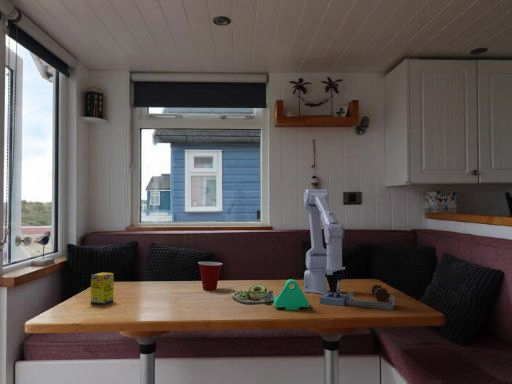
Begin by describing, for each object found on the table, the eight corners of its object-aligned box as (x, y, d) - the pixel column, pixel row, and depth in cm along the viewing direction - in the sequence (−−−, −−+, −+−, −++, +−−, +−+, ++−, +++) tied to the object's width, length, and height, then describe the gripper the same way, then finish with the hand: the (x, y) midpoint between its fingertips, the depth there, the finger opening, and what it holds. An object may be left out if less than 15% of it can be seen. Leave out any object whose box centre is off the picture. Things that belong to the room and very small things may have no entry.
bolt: (377, 297, 163) (384, 305, 148) (366, 291, 164) (372, 298, 149) (384, 285, 163) (391, 292, 148) (373, 279, 164) (379, 285, 149)
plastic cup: (227, 290, 169) (227, 262, 170) (204, 293, 163) (205, 264, 164) (215, 285, 178) (215, 259, 179) (193, 288, 172) (193, 261, 173)
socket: (319, 303, 146) (319, 297, 146) (326, 298, 154) (326, 292, 154) (343, 306, 142) (343, 300, 142) (349, 300, 150) (349, 294, 150)
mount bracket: (345, 304, 144) (345, 295, 144) (350, 300, 151) (350, 291, 151) (392, 310, 136) (392, 300, 137) (394, 304, 144) (394, 295, 144)
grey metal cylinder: (329, 296, 147) (329, 280, 147) (331, 294, 150) (331, 279, 150) (338, 297, 146) (338, 281, 146) (340, 295, 149) (340, 280, 149)
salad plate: (287, 304, 146) (287, 291, 146) (242, 308, 140) (242, 295, 141) (269, 293, 164) (269, 282, 165) (229, 296, 159) (229, 285, 159)
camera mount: (305, 304, 145) (305, 276, 146) (309, 309, 138) (308, 280, 138) (273, 304, 145) (273, 277, 145) (275, 310, 137) (275, 281, 137)
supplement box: (103, 305, 144) (104, 275, 144) (90, 304, 145) (90, 274, 146) (113, 301, 149) (114, 272, 150) (100, 300, 151) (101, 272, 151)
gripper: (339, 258, 140) (340, 295, 140) (349, 253, 153) (349, 288, 153) (321, 257, 144) (321, 294, 143) (331, 252, 157) (331, 286, 156)
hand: (334, 291), depth 148 cm, fingers closed on grey metal cylinder, 3 cm apart
